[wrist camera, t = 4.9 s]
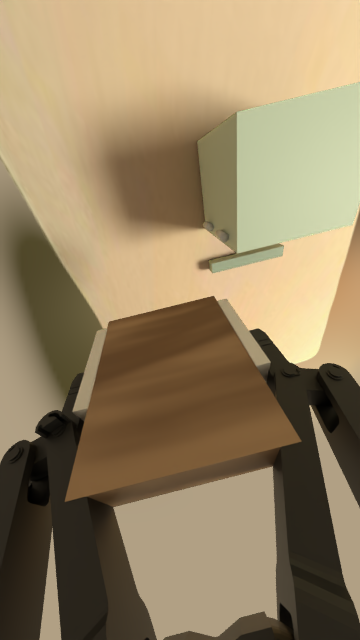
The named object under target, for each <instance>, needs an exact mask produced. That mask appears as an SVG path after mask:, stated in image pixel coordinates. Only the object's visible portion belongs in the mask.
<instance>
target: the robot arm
mask: <svg viewBox="0 0 360 640" xmlns="http://www.w3.org/2000/svg"><path fill="white" fill-rule="evenodd" d="M217 302H218V304H219V306H220V307H221V309H222V311H223V312H224V314H225V316H226V317H227V319H228V321H229V322H230V324H231V326H232V327H233V329H234V331H235V332H236V334H237V336H238V337H239V339H240V341H241V342H242V344H243V346H244V347H245V349H246V351H247V352H248V354H249V356H250V357H251V359H252V361H253V362H254V364H255V366H256V367H257V368H258V370H259V372H260V373H261V375H262V377H263V378H264V380H265V382H266V383H267V385H268V387H269V388H270V390H271V392H272V393H273V395H274V397H275V398H276V400H277V402H278V403H279V405H280V406H281V408H282V410H283V411H284V413H285V415H286V416H287V418H288V420H289V421H290V423H291V425H292V426H293V428H294V430H295V431H296V433H297V435H298V436H299V438H300V440H301V441H302V442H298V443H294V444H290V445H286V446H282V447H280V450H279V452H278V455H277V457H276V459H275V462H274V464H273V479H274V499H275V500H274V502H275V524H276V547H277V564H276V592H277V618H278V620H276V619H273V618H269V617H266V614H265V612H261V613H256V614H253V615H249V616H245V617H241V618H239V619H238V620H237V621H236V622H235V623H233V625H231V626H230V627H229V628H228V629H227V630H225V632H223V633H222V634H221V635H220V636H218V637H211V636H207V635H203V634H199V633H195V632H191V631H188V632H184V633H180V634H176V635H172V636H169V637H166V638H164V640H360V623H359V619H358V615H357V612H356V609H355V607H354V603H353V601H352V599H351V597H350V595H349V593H348V591H347V588H346V586H345V582H344V578H343V575H342V569H341V564H340V559H339V555H338V549H337V544H336V539H335V534H334V529H333V524H332V519H331V514H330V508H329V503H328V498H327V493H326V488H325V483H324V478H323V473H322V468H321V463H320V458H319V453H318V448H317V443H316V438H315V433H314V428H313V422H312V417H311V412H310V407H309V405H311V407H312V409H313V411H314V413H315V415H316V417H317V419H318V421H319V423H320V425H321V428H322V430H323V432H324V434H325V436H326V438H327V440H328V442H329V444H330V446H331V449H332V451H333V453H334V455H335V457H336V459H337V461H338V463H339V465H340V467H341V469H342V471H343V474H344V475H345V478H346V480H347V482H348V484H349V486H350V488H351V490H352V492H353V495H354V497H355V499H356V501H357V503H358V505H359V507H360V386H359V385H358V384H357V383H356V381H355V380H354V378H353V377H352V376H351V374H350V373H349V372H348V371H347V370H346V369H345V368H343V367H341V366H339V365H336V364H331V363H327V364H323V365H322V366H320V368H319V369H305V368H299V367H298V366H296V365H295V364H293V363H289V362H288V361H287V360H286V358H285V357H284V356H283V354H282V353H281V352H280V351H279V349H278V348H277V347H276V346H275V344H273V342H272V341H271V339H270V338H269V337H268V336H267V334H266V333H265V332H263V331H262V330H260V329H254V330H250V331H249V330H248V329H247V327H246V326H245V325H244V323H243V322H242V320H241V319H240V317H239V316H238V314H237V313H236V312H235V310H234V309H233V307H232V306H231V304H230V303H229V302H228V300H227V299H223V300H219V301H217ZM106 333H107V328H106V329H102V330H98V331H97V333H96V337H95V340H94V343H93V346H92V350H91V353H90V356H89V359H88V362H87V366H86V369H85V372H84V373H80V374H78V375H77V376H76V377H75V379H74V380H73V382H72V384H71V387H70V390H69V393H68V396H67V399H66V401H65V404H64V407H63V410H62V412H61V411H58V410H55V411H52V412H49V413H48V414H46V415H45V416H44V417H43V418H42V419H41V420H40V421H39V423H38V425H37V427H36V431H35V433H37V434H39V435H40V436H41V437H40V438H38V439H36V440H34V441H32V442H29V441H27V440H22V441H19V442H17V443H16V444H15V445H13V446H12V447H11V448H10V449H9V450H8V451H7V452H6V454H5V455H4V457H3V459H2V461H1V463H0V640H39V638H40V629H41V620H42V612H43V602H44V594H45V585H46V577H47V576H46V575H47V568H48V559H49V550H50V542H51V532H52V527H53V539H54V551H55V564H56V577H57V589H58V601H59V614H60V626H61V639H62V640H157V639H156V636H155V632H154V629H153V625H152V622H151V619H150V616H149V613H148V610H147V608H146V606H145V604H144V602H143V601H142V599H141V598H140V596H139V594H138V592H137V589H136V585H135V582H134V578H133V575H132V571H131V568H130V565H129V561H128V557H127V554H126V550H125V547H124V543H123V540H122V536H121V533H120V530H119V526H118V523H117V519H116V516H115V512H114V509H113V507H112V506H110V505H107V504H105V503H102V502H100V501H97V500H94V499H92V498H89V497H87V496H86V497H82V498H78V499H74V500H71V501H67V502H65V498H66V494H67V490H68V486H69V482H70V478H71V474H72V470H73V466H74V462H75V458H76V454H77V450H78V445H79V441H80V437H81V433H82V429H83V425H84V421H85V417H86V413H87V410H88V407H89V403H90V399H91V394H92V390H93V386H94V382H95V378H96V374H97V370H98V366H99V362H100V357H101V353H102V349H103V345H104V341H105V337H106Z"/></svg>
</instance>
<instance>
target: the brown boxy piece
mask: <svg viewBox="0 0 360 640" xmlns="http://www.w3.org/2000/svg"><path fill="white" fill-rule="evenodd" d="M298 442H302V441H301V440H300V438H299V436H298V435H297V433H296V431H295V430H294V428H293V426H292V425H291V423H290V421H289V420H288V418H287V416H286V415H285V413H284V411H283V410H282V408H281V406H280V405H279V403H278V402H277V400H276V398H275V397H274V395H273V393H272V392H271V390H270V388H269V387H268V385H267V383H266V382H265V380H264V378H263V377H262V375H261V373H260V372H259V370H258V368H257V367H256V366H255V364H254V362H253V361H252V359H251V357H250V356H249V354H248V352H247V351H246V349H245V347H244V346H243V344H242V342H241V341H240V339H239V337H238V336H237V334H236V332H235V331H234V329H233V327H232V326H231V324H230V322H229V321H228V319H227V317H226V316H225V314H224V312H223V311H222V309H221V307H220V306H219V304H218V302H217V301H216V299H215V297H214V296H211V297H207V298H203V299H199V300H195V301H191V302H187V303H183V304H179V305H175V306H171V307H167V308H163V309H159V310H155V311H151V312H147V313H143V314H138V315H134V316H130V317H126V318H122V319H118V320H114V321H110V322H109V324H108V328H107V333H106V337H105V341H104V345H103V349H102V353H101V357H100V362H99V366H98V370H97V374H96V378H95V382H94V386H93V390H92V394H91V399H90V403H89V407H88V410H87V413H86V417H85V421H84V425H83V429H82V433H81V437H80V441H79V445H78V450H77V454H76V458H75V462H74V466H73V470H72V474H71V478H70V482H69V486H68V490H67V494H66V498H65V502H67V501H71V500H74V499H78V498H82V497H86V496H87V497H89V498H92V499H94V500H97V501H100V502H102V503H105V504H107V505H110V506H112V507H116V506H119V505H123V504H127V503H131V502H135V501H139V500H143V499H147V498H151V497H154V496H159V495H162V494H166V493H170V492H174V491H178V490H182V489H186V488H190V487H194V486H198V485H202V484H205V483H209V482H213V481H217V480H221V479H225V478H229V477H232V476H237V475H241V474H245V473H249V472H253V471H256V470H260V469H264V468H268V467H272V466H273V464H274V462H275V459H276V457H277V455H278V452H279V450H280V447H282V446H286V445H290V444H294V443H298Z"/></svg>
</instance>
